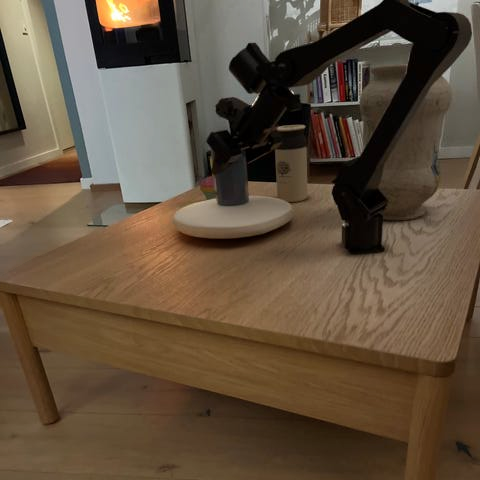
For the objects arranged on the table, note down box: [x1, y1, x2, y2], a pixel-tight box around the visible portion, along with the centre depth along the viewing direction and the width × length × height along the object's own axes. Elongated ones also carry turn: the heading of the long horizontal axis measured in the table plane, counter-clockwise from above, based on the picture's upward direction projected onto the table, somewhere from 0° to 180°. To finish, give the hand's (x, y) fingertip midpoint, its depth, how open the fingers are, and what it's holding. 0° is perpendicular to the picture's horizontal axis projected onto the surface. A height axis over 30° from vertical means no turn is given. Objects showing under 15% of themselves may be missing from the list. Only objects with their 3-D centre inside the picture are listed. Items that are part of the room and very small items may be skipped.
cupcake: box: [199, 155, 216, 200], centre depth 128 cm, size 9×8×12 cm
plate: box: [172, 195, 294, 239], centre depth 106 cm, size 28×6×27 cm
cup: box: [210, 136, 250, 206], centre depth 102 cm, size 7×7×13 cm
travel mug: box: [274, 124, 308, 203], centre depth 122 cm, size 8×8×18 cm
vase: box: [358, 63, 453, 221], centre depth 101 cm, size 18×18×30 cm
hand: (226, 169), depth 102 cm, fingers open, 9 cm apart
